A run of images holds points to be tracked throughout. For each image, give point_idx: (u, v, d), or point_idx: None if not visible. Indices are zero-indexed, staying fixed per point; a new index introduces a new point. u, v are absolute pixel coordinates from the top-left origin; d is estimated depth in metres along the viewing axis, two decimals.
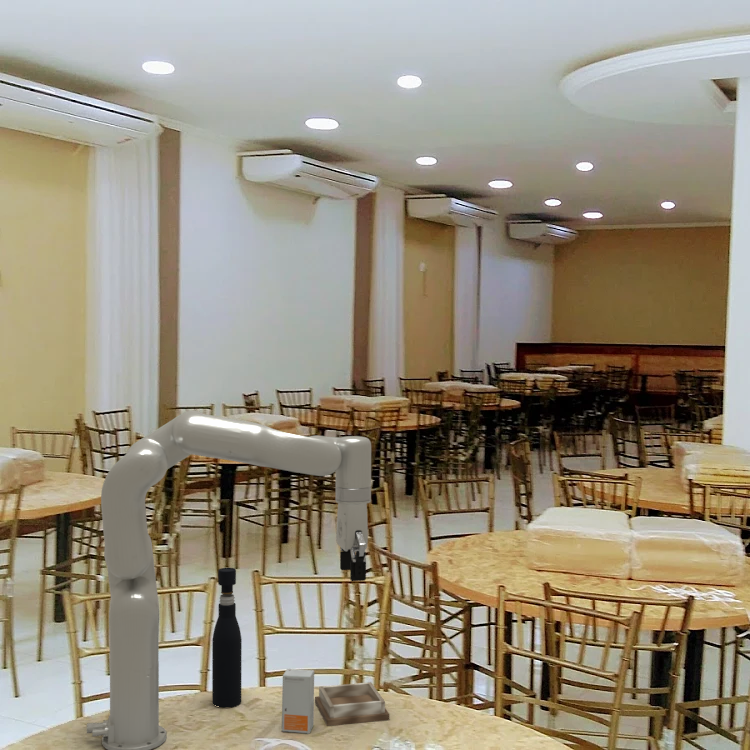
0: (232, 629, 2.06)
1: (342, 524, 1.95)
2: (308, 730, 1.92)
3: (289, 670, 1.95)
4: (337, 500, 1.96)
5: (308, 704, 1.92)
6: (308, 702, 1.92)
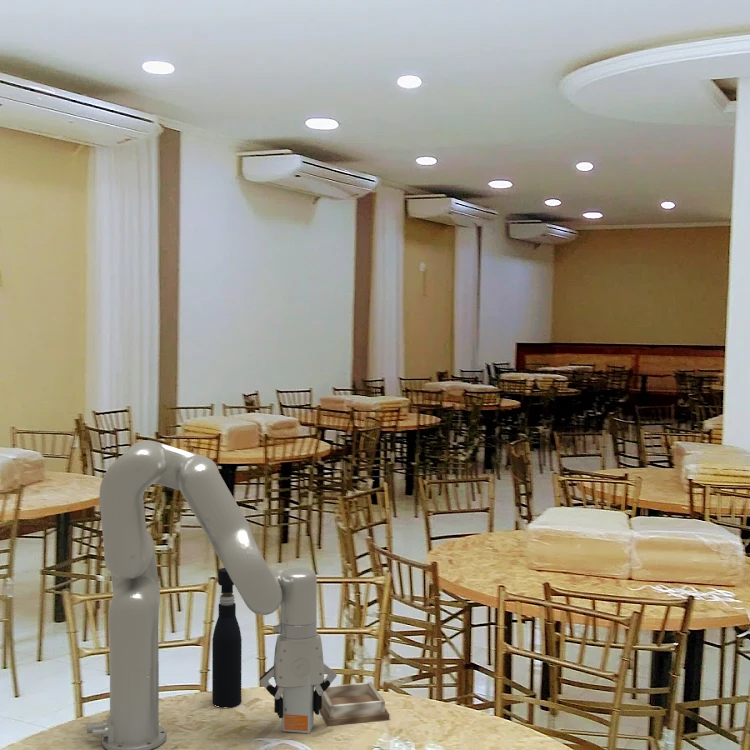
0: (232, 629, 2.06)
1: (310, 660, 1.92)
2: (308, 730, 1.92)
3: None
4: (305, 638, 1.90)
5: (308, 704, 1.92)
6: (308, 702, 1.92)
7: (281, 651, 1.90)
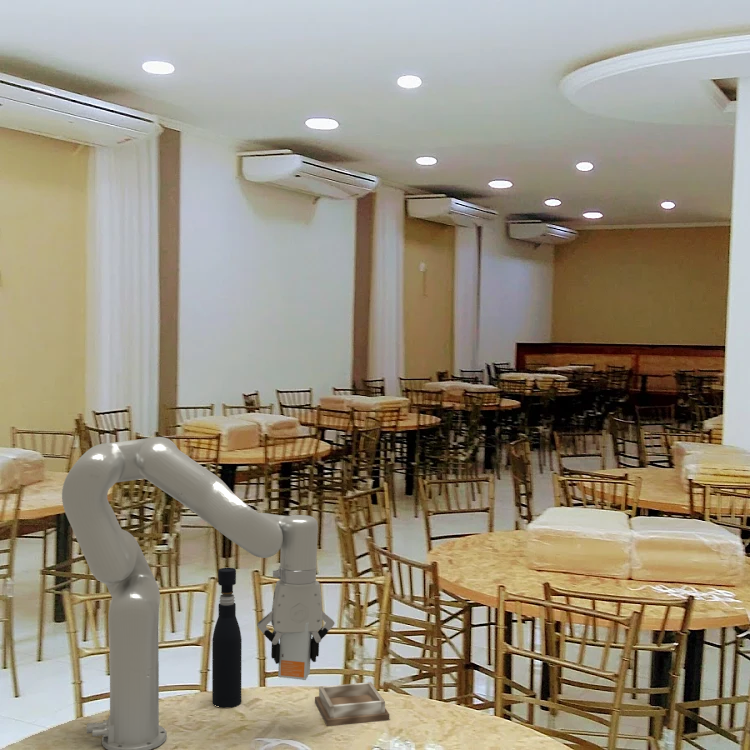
0: (232, 629, 2.06)
1: (309, 606, 1.91)
2: (304, 676, 1.91)
3: None
4: (305, 584, 1.90)
5: (305, 650, 1.91)
6: (305, 648, 1.91)
7: (280, 596, 1.90)
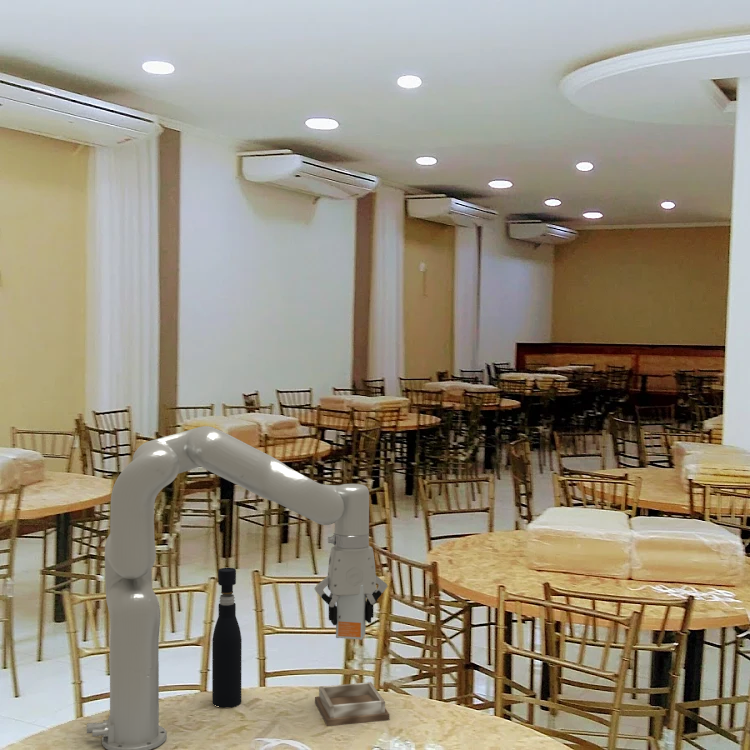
0: (232, 629, 2.06)
1: (363, 570, 2.01)
2: (361, 636, 2.01)
3: None
4: (359, 548, 2.00)
5: (361, 611, 2.01)
6: (361, 609, 2.01)
7: (336, 560, 2.00)
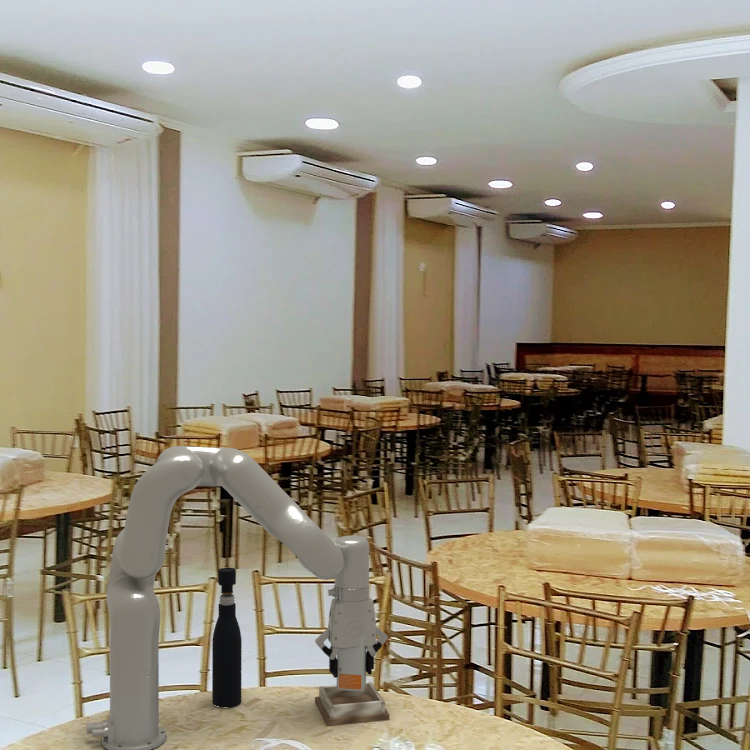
0: (232, 629, 2.06)
1: (364, 622, 2.02)
2: (362, 688, 2.02)
3: None
4: (359, 601, 2.00)
5: (362, 664, 2.02)
6: (362, 662, 2.02)
7: (336, 613, 2.00)
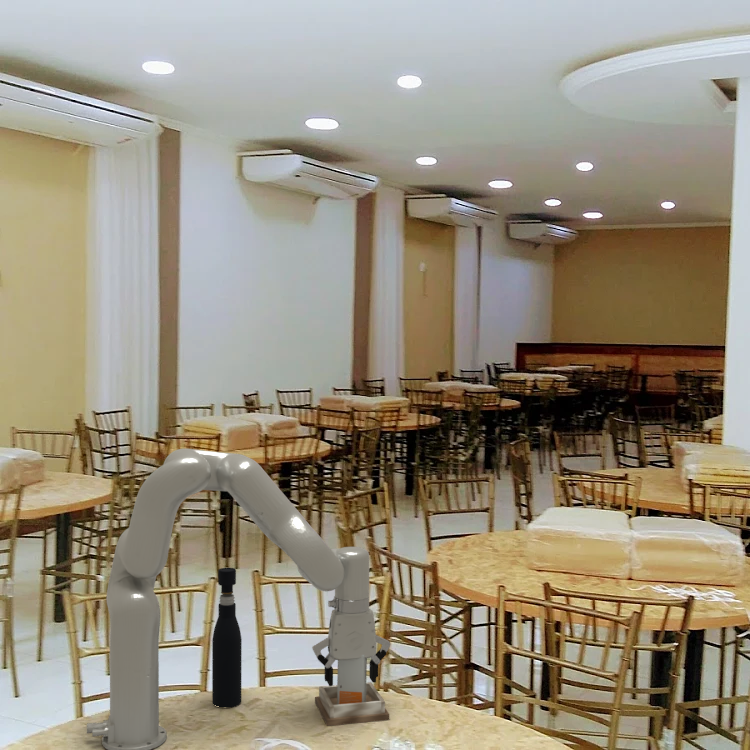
0: (232, 629, 2.06)
1: (364, 634, 2.02)
2: None
3: None
4: (359, 613, 2.00)
5: (362, 681, 2.02)
6: (362, 679, 2.02)
7: (336, 625, 2.00)
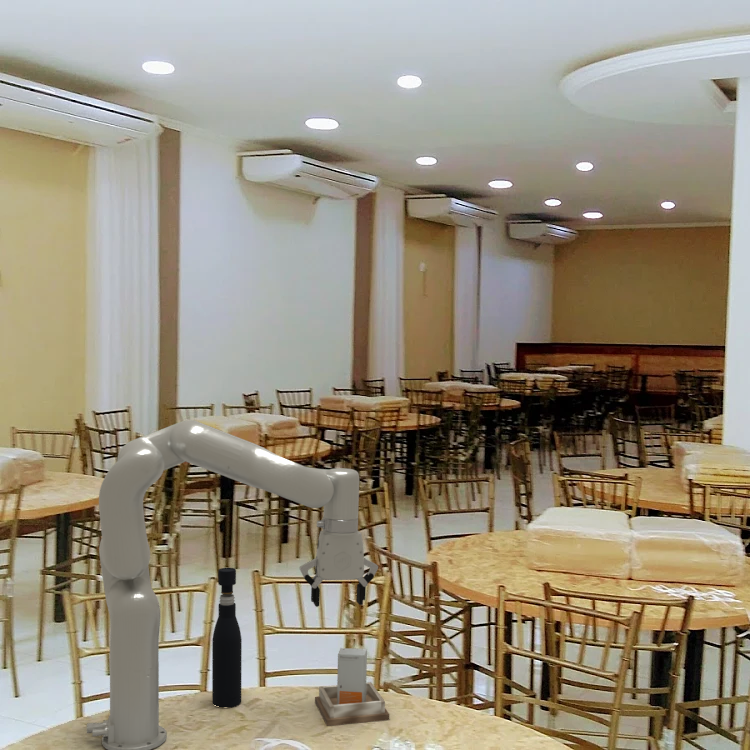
0: (232, 629, 2.06)
1: (352, 555, 2.00)
2: None
3: (343, 649, 2.05)
4: (348, 533, 1.99)
5: (362, 681, 2.02)
6: (362, 679, 2.02)
7: (324, 544, 1.99)
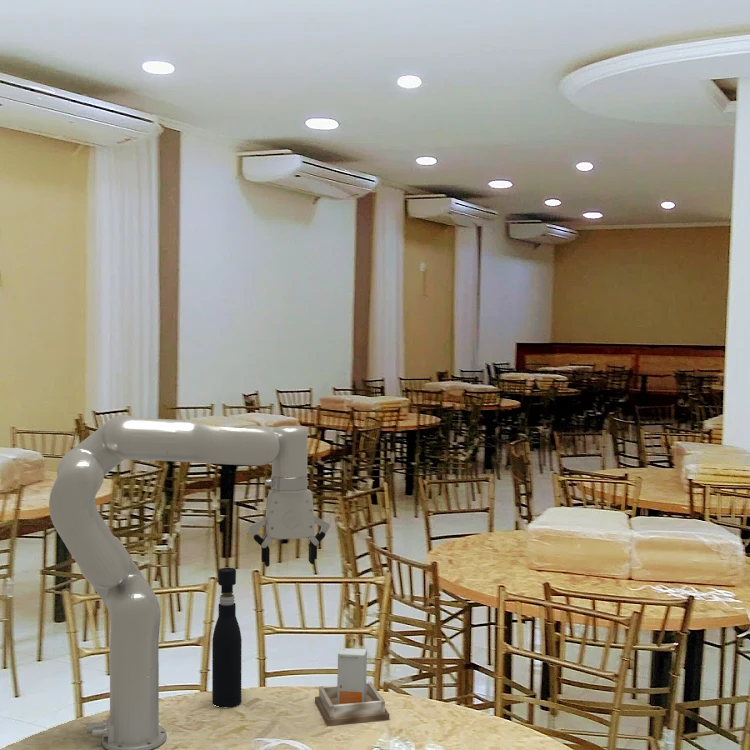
0: (232, 629, 2.06)
1: (301, 513, 1.96)
2: None
3: (343, 649, 2.05)
4: (296, 490, 1.95)
5: (362, 681, 2.02)
6: (362, 679, 2.02)
7: (272, 503, 1.95)
